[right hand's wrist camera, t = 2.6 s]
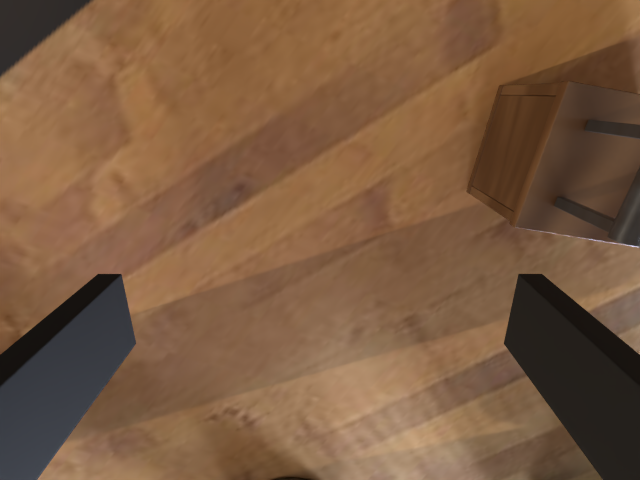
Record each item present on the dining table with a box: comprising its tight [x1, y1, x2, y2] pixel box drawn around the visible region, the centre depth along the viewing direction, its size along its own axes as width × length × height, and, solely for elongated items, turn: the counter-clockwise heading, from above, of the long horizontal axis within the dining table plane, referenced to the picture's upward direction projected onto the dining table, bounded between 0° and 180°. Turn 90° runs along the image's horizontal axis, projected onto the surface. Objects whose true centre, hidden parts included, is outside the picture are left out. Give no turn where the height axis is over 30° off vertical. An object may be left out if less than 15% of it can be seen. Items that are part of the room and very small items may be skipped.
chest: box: [467, 83, 561, 221], centre depth 31 cm, size 13×10×10 cm
